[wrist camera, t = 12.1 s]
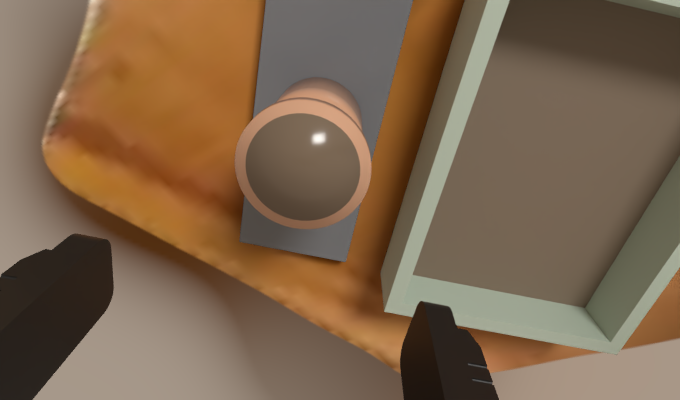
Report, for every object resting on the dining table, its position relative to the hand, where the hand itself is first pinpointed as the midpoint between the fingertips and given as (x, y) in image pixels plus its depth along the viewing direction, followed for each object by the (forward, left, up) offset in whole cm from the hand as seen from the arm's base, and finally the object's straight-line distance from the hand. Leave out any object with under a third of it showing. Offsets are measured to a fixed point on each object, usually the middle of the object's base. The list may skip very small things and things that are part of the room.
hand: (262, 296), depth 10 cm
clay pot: (0, 0, -17) cm, 17 cm away
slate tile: (0, 0, -18) cm, 18 cm away
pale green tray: (-15, 0, -18) cm, 23 cm away
